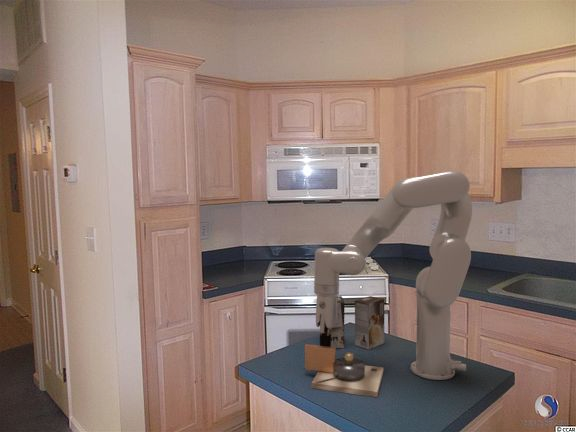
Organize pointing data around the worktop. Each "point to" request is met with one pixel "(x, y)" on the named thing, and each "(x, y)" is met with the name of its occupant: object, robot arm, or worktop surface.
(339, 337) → the coffee box
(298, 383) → the worktop surface
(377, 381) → the dial board
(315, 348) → the cam dial
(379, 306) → the coffee box
